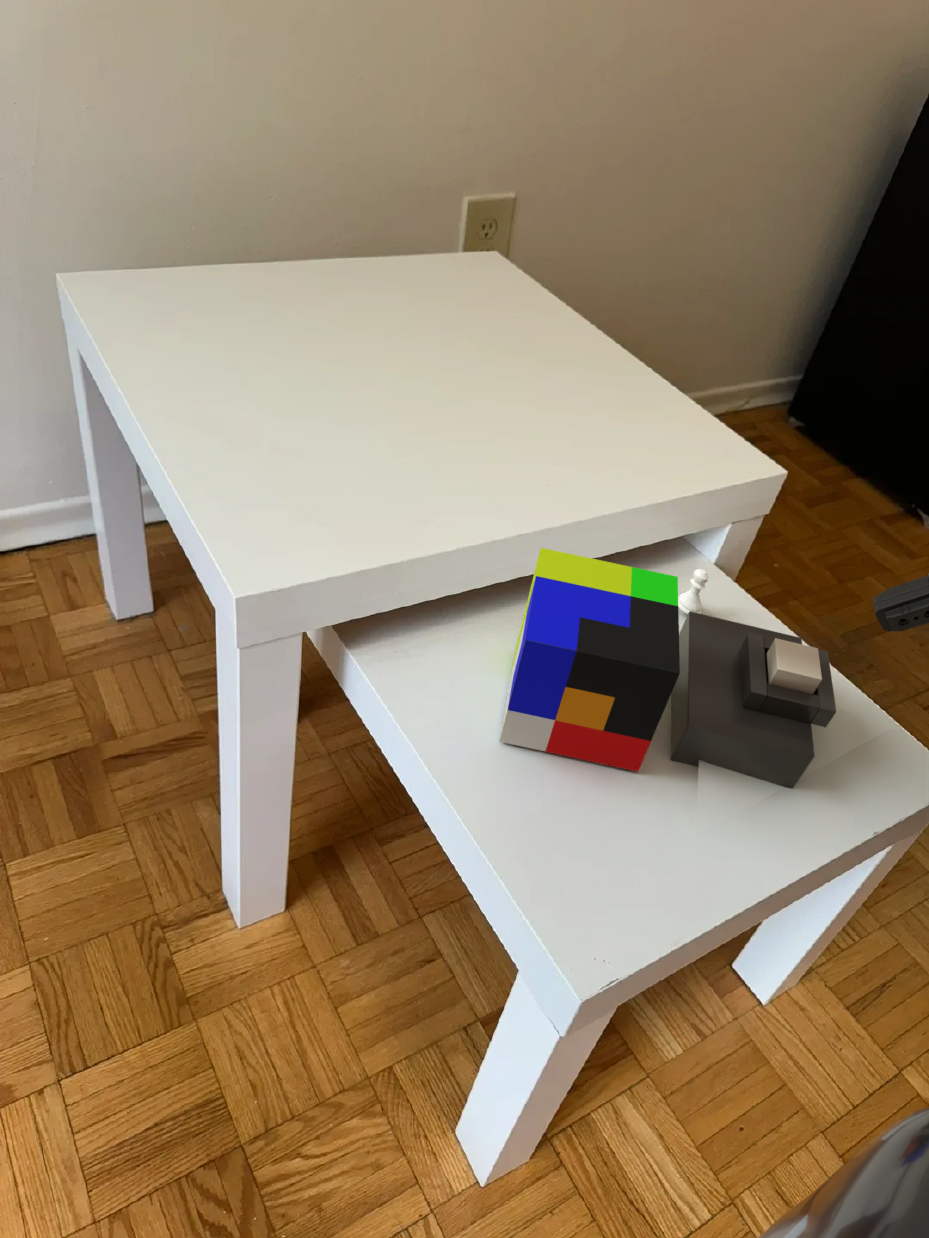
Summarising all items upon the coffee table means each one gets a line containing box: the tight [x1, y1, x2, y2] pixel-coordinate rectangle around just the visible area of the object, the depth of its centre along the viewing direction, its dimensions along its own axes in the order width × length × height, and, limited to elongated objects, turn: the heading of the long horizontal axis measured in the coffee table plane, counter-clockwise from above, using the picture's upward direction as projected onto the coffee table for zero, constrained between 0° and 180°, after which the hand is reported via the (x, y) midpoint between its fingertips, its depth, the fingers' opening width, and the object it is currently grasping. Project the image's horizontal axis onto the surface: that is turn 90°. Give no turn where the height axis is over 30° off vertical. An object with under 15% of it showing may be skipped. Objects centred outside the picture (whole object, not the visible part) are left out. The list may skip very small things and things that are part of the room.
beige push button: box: [766, 638, 822, 694], centre depth 67 cm, size 3×3×2 cm
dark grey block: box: [669, 611, 837, 790], centre depth 70 cm, size 12×10×6 cm
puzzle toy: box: [499, 547, 680, 773], centre depth 66 cm, size 10×10×10 cm
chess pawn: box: [678, 568, 710, 615], centre depth 79 cm, size 3×2×4 cm
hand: (878, 615), depth 63 cm, fingers closed
